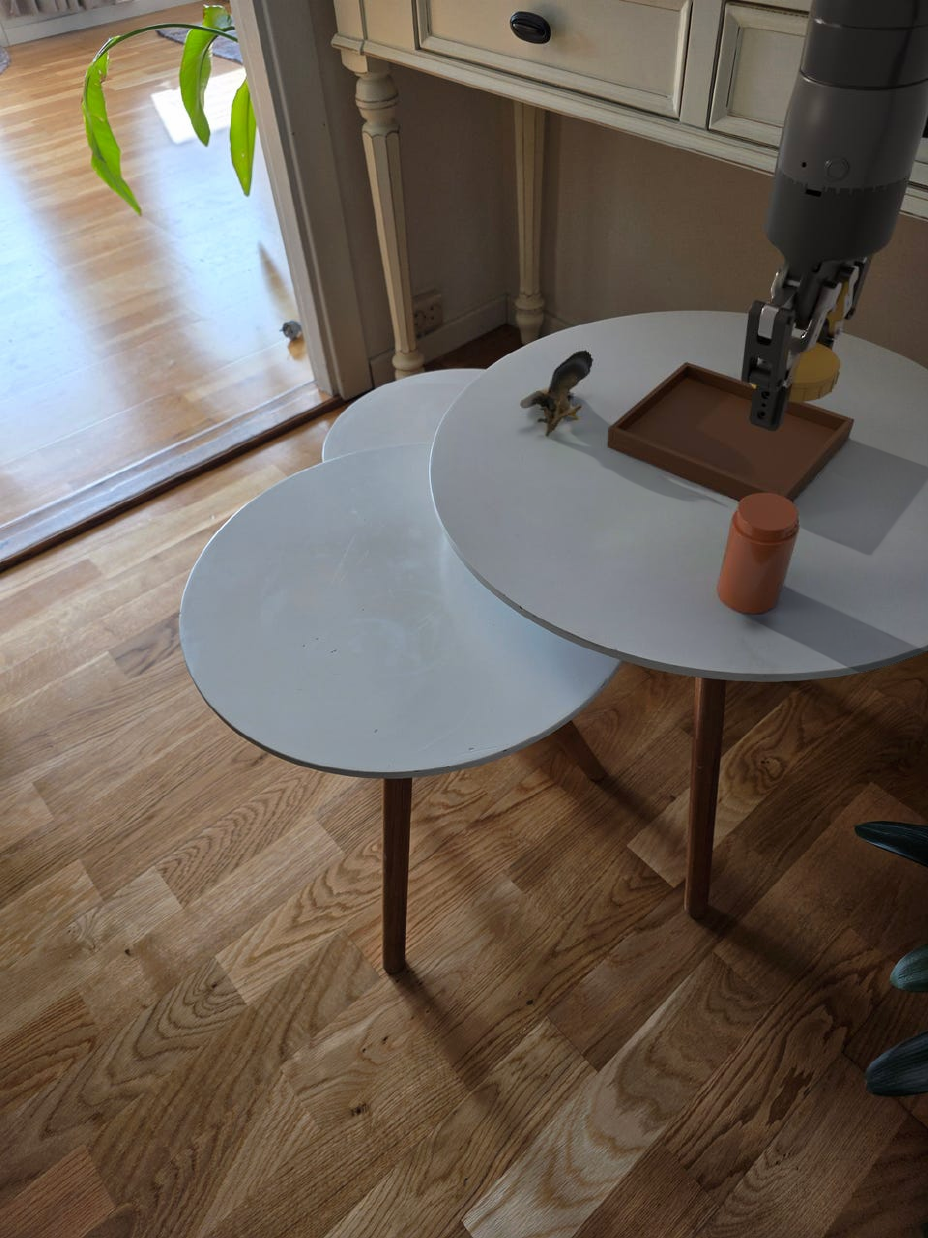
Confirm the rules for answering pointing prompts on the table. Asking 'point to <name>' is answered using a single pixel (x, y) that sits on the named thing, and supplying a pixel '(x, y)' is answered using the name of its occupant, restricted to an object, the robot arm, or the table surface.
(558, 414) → the eagle figurine
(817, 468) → the tray
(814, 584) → the table surface
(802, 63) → the robot arm
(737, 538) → the jar
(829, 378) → the jar lid
